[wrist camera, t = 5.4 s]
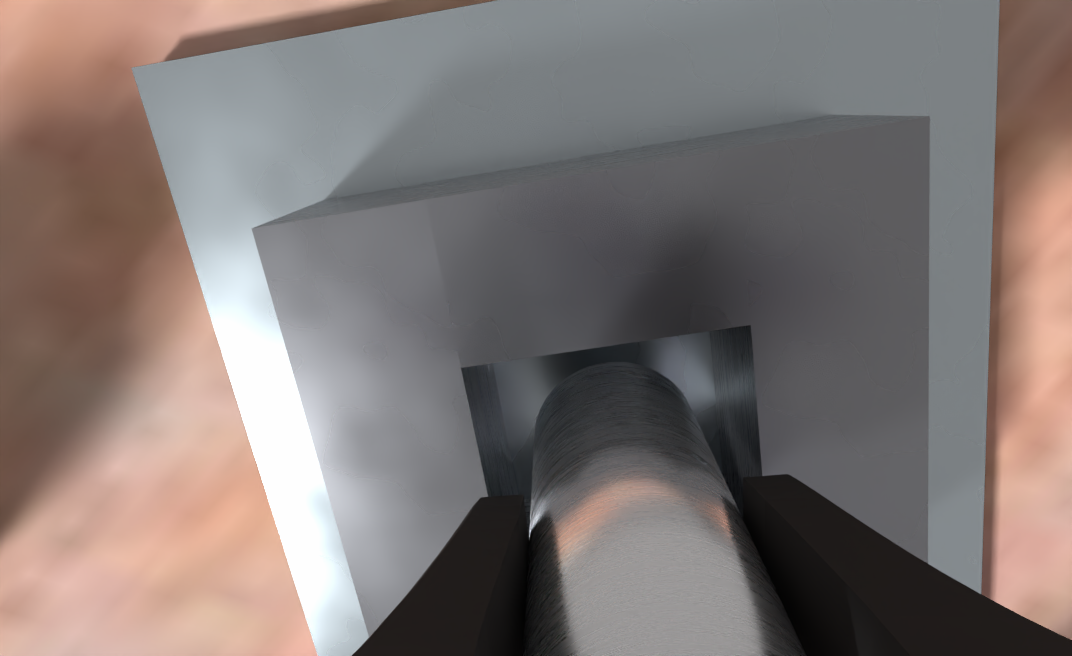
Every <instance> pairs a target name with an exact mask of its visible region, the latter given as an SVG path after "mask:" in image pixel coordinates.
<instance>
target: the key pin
mask: <svg viewBox="0 0 1072 656" xmlns="http://www.w3.org/2000/svg"><path fill="white" fill-rule="evenodd" d="M523 656H806V653H805V651H804V649H803V647H802V645H801V643H800V641H799V638H798V636H797V634H796V632H795V630H794V628H793V626H792V623H791V621H790V619H789V617H788V615H787V613H786V610H785V608H784V606H783V604H782V602H781V600H780V598H779V595H778V593H777V591H776V589H775V587H774V585H773V583H772V580H771V578H770V576H769V574H768V572H767V570H766V568H765V565H764V563H763V561H762V559H761V557H760V555H759V553H758V550H757V548H756V546H755V544H754V542H753V540H752V538H751V535H750V533H749V531H748V529H747V527H746V525H745V523H744V520H743V518H742V516H741V514H740V512H739V510H738V508H737V505H736V503H735V501H734V499H733V497H732V495H731V492H730V490H729V488H728V486H727V484H726V482H725V480H724V477H723V475H722V473H721V471H720V469H719V467H718V465H717V462H716V460H715V458H714V456H713V454H712V452H711V450H710V447H709V445H708V443H707V441H706V439H705V437H704V435H703V432H702V430H701V428H700V426H699V424H698V422H697V420H696V417H695V415H694V413H693V411H692V409H691V407H690V405H689V402H688V400H687V399H686V397H685V396H684V394H683V393H682V392H681V390H680V389H679V388H678V387H677V386H676V385H675V384H674V383H673V382H672V381H670V380H669V379H668V378H667V377H665V376H664V375H662V374H661V373H659V372H657V371H655V370H653V369H651V368H648V367H645V366H642V365H639V364H634V363H628V362H606V363H601V364H595V365H592V366H589V367H586V368H583V369H581V370H579V371H577V372H575V373H573V374H572V375H570V376H568V377H567V378H565V379H564V380H563V381H562V382H560V383H559V384H558V385H557V386H556V387H555V388H554V389H553V390H552V391H551V393H550V394H549V395H548V397H547V398H546V399H545V401H544V403H543V405H542V407H541V408H540V411H539V414H538V416H537V420H536V425H535V433H534V452H533V471H532V491H531V510H530V530H529V551H528V571H527V590H526V607H525V627H524V646H523Z"/></svg>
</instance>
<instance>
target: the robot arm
mask: <svg viewBox="0 0 1072 656" xmlns="http://www.w3.org/2000/svg"><path fill="white" fill-rule="evenodd" d="M743 520H744V523H745V525H746V527H747V529H748V531H749V533H750V535H751V538H752V540H753V542H754V544H755V546H756V548H757V550H758V553H759V555H760V557H761V559H762V561H763V563H764V565H765V568H766V570H767V572H768V574H769V576H770V578H771V580H772V583H773V585H774V587H775V589H776V591H777V593H778V595H779V598H780V600H781V602H782V604H783V606H784V608H785V610H786V613H787V615H788V617H789V619H790V621H791V623H792V626H793V628H794V630H795V632H796V634H797V636H798V638H799V641H800V643H801V645H802V647H803V649H804V651H805V653H806V656H1072V640H1070V639H1068V638H1066V637H1064V636H1061V635H1059V634H1057V633H1055V632H1053V631H1051V630H1049V629H1047V628H1045V627H1043V626H1041V625H1039V624H1037V623H1035V622H1033V621H1031V620H1029V619H1026V618H1025V617H1023V616H1021V615H1019V614H1017V613H1015V612H1013V611H1011V610H1009V609H1007V608H1005V607H1004V606H1002V605H1000V604H998V603H996V602H994V601H992V600H990V599H989V598H987V597H985V596H983V595H982V594H980V593H978V592H976V591H974V590H973V589H971V588H969V587H967V586H966V585H964V584H962V583H960V582H959V581H957V580H955V579H953V578H952V577H950V576H948V575H946V574H945V573H943V572H941V571H939V570H938V569H936V568H934V567H933V566H931V565H929V564H928V563H926V562H924V561H923V560H921V559H919V558H918V557H916V556H914V555H913V554H911V553H910V552H908V551H906V550H905V549H903V548H901V547H900V546H898V545H897V544H895V543H894V542H892V541H890V540H889V539H887V538H886V537H884V536H883V535H881V534H879V533H878V532H876V531H875V530H873V529H872V528H870V527H869V526H867V525H866V524H864V523H863V522H861V521H859V520H858V519H856V518H855V517H853V516H852V515H850V514H849V513H847V512H846V511H844V510H843V509H841V508H840V507H838V506H837V505H835V504H834V503H832V502H831V501H829V500H828V499H827V498H825V497H824V496H822V495H821V494H819V493H818V492H816V491H814V490H813V489H811V488H810V487H808V486H807V485H805V484H804V483H802V482H801V481H799V480H797V479H796V478H794V477H792V476H791V475H789V474H781V475H768V476H755V477H743ZM528 551H529V536H528V527H527V519H526V511H525V502H524V494H519V495H506V496H492V497H481V498H480V499H479V500H478V501H477V502H476V503H475V504H474V505H473V507H472V508H471V510H470V511H469V512H468V514H467V515H466V517H465V518H464V520H463V521H462V522H461V524H460V525H459V527H458V528H457V530H456V531H455V532H454V534H453V535H452V537H451V538H450V539H449V541H448V542H447V543H446V545H445V546H444V548H443V549H442V550H441V552H440V553H439V554H438V556H437V557H436V558H435V559H434V561H433V562H432V563H431V565H430V566H429V567H428V568H427V570H426V571H425V572H424V574H423V575H422V576H421V577H420V579H419V580H418V581H417V582H416V584H415V585H414V586H413V588H412V589H411V590H410V591H409V592H408V594H407V595H406V596H405V597H404V598H403V600H402V601H401V602H400V603H399V604H398V605H397V606H396V607H395V609H394V610H393V611H392V612H391V613H390V614H389V615H388V617H387V618H386V619H385V620H384V621H383V622H382V623H381V624H380V626H379V627H378V628H377V629H376V630H375V631H374V632H373V634H372V635H371V636H370V637H369V638H368V639H367V640H366V641H365V642H364V643H363V644H362V645H361V646H360V648H359V649H358V650H357V651H356V652H355V653H354V654H353V655H352V656H523V646H524V627H525V607H526V590H527V571H528Z"/></svg>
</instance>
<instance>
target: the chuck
mask: <svg viewBox="0 0 1072 656" xmlns="http://www.w3.org/2000/svg"><path fill="white" fill-rule="evenodd" d="M999 6H1000V0H496V1H491V2H486V3H480V4H475V5H469V6H464V7H458V8H453V9H448V10H442V11H437V12H431V13H426V14H420V15H415V16H410V17H404V18H399V19H393V20H388V21H383V22H377V23H372V24H366V25H361V26H355V27H350V28H345V29H339V30H334V31H328V32H323V33H318V34H312V35H307V36H301V37H296V38H290V39H285V40H280V41H274V42H269V43H263V44H258V45H252V46H247V47H242V48H236V49H231V50H225V51H220V52H215V53H209V54H204V55H198V56H193V57H187V58H182V59H177V60H171V61H166V62H160V63H155V64H150V65H144V66H139V67H133V68H132V71H133V74H134V78H135V81H136V84H137V87H138V90H139V93H140V96H141V100H142V103H143V106H144V109H145V112H146V115H147V119H148V122H149V125H150V128H151V131H152V134H153V137H154V141H155V144H156V147H157V150H158V153H159V156H160V160H161V163H162V166H163V169H164V172H165V175H166V178H167V182H168V185H169V188H170V191H171V194H172V197H173V201H174V204H175V207H176V210H177V213H178V216H179V219H180V223H181V226H182V229H183V232H184V235H185V238H186V242H187V245H188V248H189V251H190V254H191V257H192V260H193V264H194V267H195V270H196V273H197V276H198V279H199V283H200V286H201V289H202V292H203V295H204V298H205V301H206V305H207V308H208V311H209V314H210V317H211V320H212V324H213V327H214V330H215V333H216V336H217V339H218V342H219V346H220V349H221V352H222V355H223V358H224V361H225V365H226V368H227V371H228V374H229V377H230V380H231V383H232V387H233V390H234V393H235V396H236V399H237V402H238V405H239V409H240V412H241V415H242V418H243V421H244V424H245V428H246V431H247V434H248V437H249V440H250V443H251V446H252V450H253V453H254V456H255V459H256V462H257V465H258V469H259V472H260V475H261V478H262V481H263V484H264V487H265V491H266V494H267V497H268V500H269V503H270V506H271V510H272V513H273V516H274V519H275V522H276V525H277V528H278V532H279V535H280V538H281V541H282V544H283V547H284V551H285V554H286V557H287V560H288V563H289V566H290V569H291V573H292V576H293V579H294V582H295V585H296V588H297V592H298V595H299V598H300V601H301V604H302V607H303V610H304V614H305V617H306V620H307V623H308V626H309V629H310V633H311V636H312V639H313V642H314V645H315V648H316V651H317V655H318V656H352V655H353V654H354V653H355V652H356V651H357V650H358V649H359V648H360V646H361V645H362V644H363V643H364V642H365V641H366V640H367V639H368V638H369V637H370V636H371V635H372V634H373V632H374V631H375V630H376V629H377V628H378V627H379V626H380V624H381V623H382V622H383V621H384V620H385V619H386V618H387V617H388V615H389V614H390V613H391V612H392V611H393V610H394V609H395V607H396V606H397V605H398V604H399V603H400V602H401V601H402V600H403V598H404V597H405V596H406V595H407V594H408V592H409V591H410V590H411V589H412V588H413V586H414V585H415V584H416V582H417V581H418V580H419V579H420V577H421V576H422V575H423V574H424V572H425V571H426V570H427V568H428V567H429V566H430V565H431V563H432V562H433V561H434V559H435V558H436V557H437V556H438V554H439V553H440V552H441V550H442V549H443V548H444V546H445V545H446V543H447V542H448V541H449V539H450V538H451V537H452V535H453V534H454V532H455V531H456V530H457V528H458V527H459V525H460V524H461V522H462V521H463V520H464V518H465V517H466V515H467V514H468V512H469V511H470V510H471V508H472V507H473V505H474V504H475V503H476V502H477V501H478V500H479V499H480V498H481V497H492V496H506V495H519V494H524V502H525V511H526V519H527V527H528V536H529V530H530V510H531V491H532V471H533V452H534V433H535V425H536V420H537V416H538V414H539V411H540V408H541V407H542V405H543V403H544V401H545V399H546V398H547V397H548V395H549V394H550V393H551V391H552V390H553V389H554V388H555V387H556V386H557V385H558V384H559V383H560V382H562V381H563V380H564V379H565V378H567V377H568V376H570V375H572V374H573V373H575V372H577V371H579V370H581V369H583V368H586V367H589V366H592V365H595V364H601V363H606V362H628V363H634V364H639V365H642V366H645V367H648V368H651V369H653V370H655V371H657V372H659V373H661V374H662V375H664V376H665V377H667V378H668V379H669V380H670V381H672V382H673V383H674V384H675V385H676V386H677V387H678V388H679V389H680V390H681V392H682V393H683V394H684V396H685V397H686V399H687V400H688V402H689V405H690V407H691V409H692V411H693V413H694V415H695V417H696V420H697V422H698V424H699V426H700V428H701V430H702V432H703V435H704V437H705V439H706V441H707V443H708V445H709V447H710V450H711V452H712V454H713V456H714V458H715V460H716V462H717V465H718V467H719V469H720V471H721V473H722V475H723V477H724V480H725V482H726V484H727V486H728V488H729V490H730V492H731V495H732V497H733V499H734V501H735V503H736V505H737V508H738V510H739V512H740V514H741V516H742V518H743V477H755V476H768V475H781V474H789V475H791V476H792V477H794V478H796V479H797V480H799V481H801V482H802V483H804V484H805V485H807V486H808V487H810V488H811V489H813V490H814V491H816V492H818V493H819V494H821V495H822V496H824V497H825V498H827V499H828V500H829V501H831V502H832V503H834V504H835V505H837V506H838V507H840V508H841V509H843V510H844V511H846V512H847V513H849V514H850V515H852V516H853V517H855V518H856V519H858V520H859V521H861V522H863V523H864V524H866V525H867V526H869V527H870V528H872V529H873V530H875V531H876V532H878V533H879V534H881V535H883V536H884V537H886V538H887V539H889V540H890V541H892V542H894V543H895V544H897V545H898V546H900V547H901V548H903V549H905V550H906V551H908V552H910V553H911V554H913V555H914V556H916V557H918V558H919V559H921V560H923V561H924V562H926V563H928V564H929V565H931V566H933V567H934V568H936V569H938V570H939V571H941V572H943V573H945V574H946V575H948V576H950V577H952V578H953V579H955V580H957V581H959V582H960V583H962V584H964V585H966V586H967V587H969V588H971V589H973V590H974V591H976V592H978V593H980V594H981V584H982V552H983V520H984V487H985V455H986V423H987V391H988V359H989V327H990V295H991V263H992V231H993V199H994V166H995V134H996V102H997V70H998V38H999Z"/></svg>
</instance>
